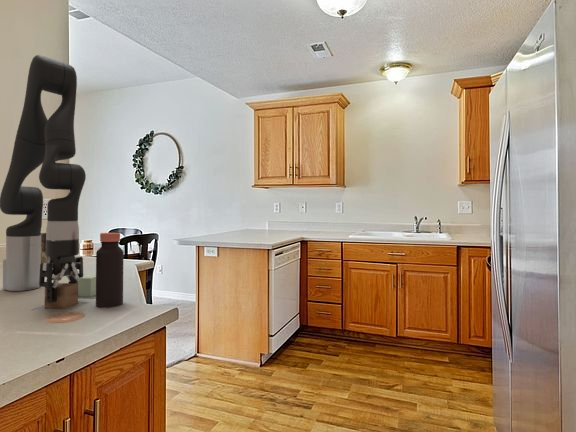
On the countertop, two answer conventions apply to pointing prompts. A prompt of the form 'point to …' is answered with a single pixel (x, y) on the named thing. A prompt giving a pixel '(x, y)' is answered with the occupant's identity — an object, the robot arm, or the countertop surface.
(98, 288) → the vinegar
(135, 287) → the countertop surface
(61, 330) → the countertop surface
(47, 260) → the coffee box
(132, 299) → the countertop surface
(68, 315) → the terracotta coaster
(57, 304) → the walnut block
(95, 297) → the code tile
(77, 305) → the tile
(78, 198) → the robot arm
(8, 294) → the countertop surface
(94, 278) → the sage block
